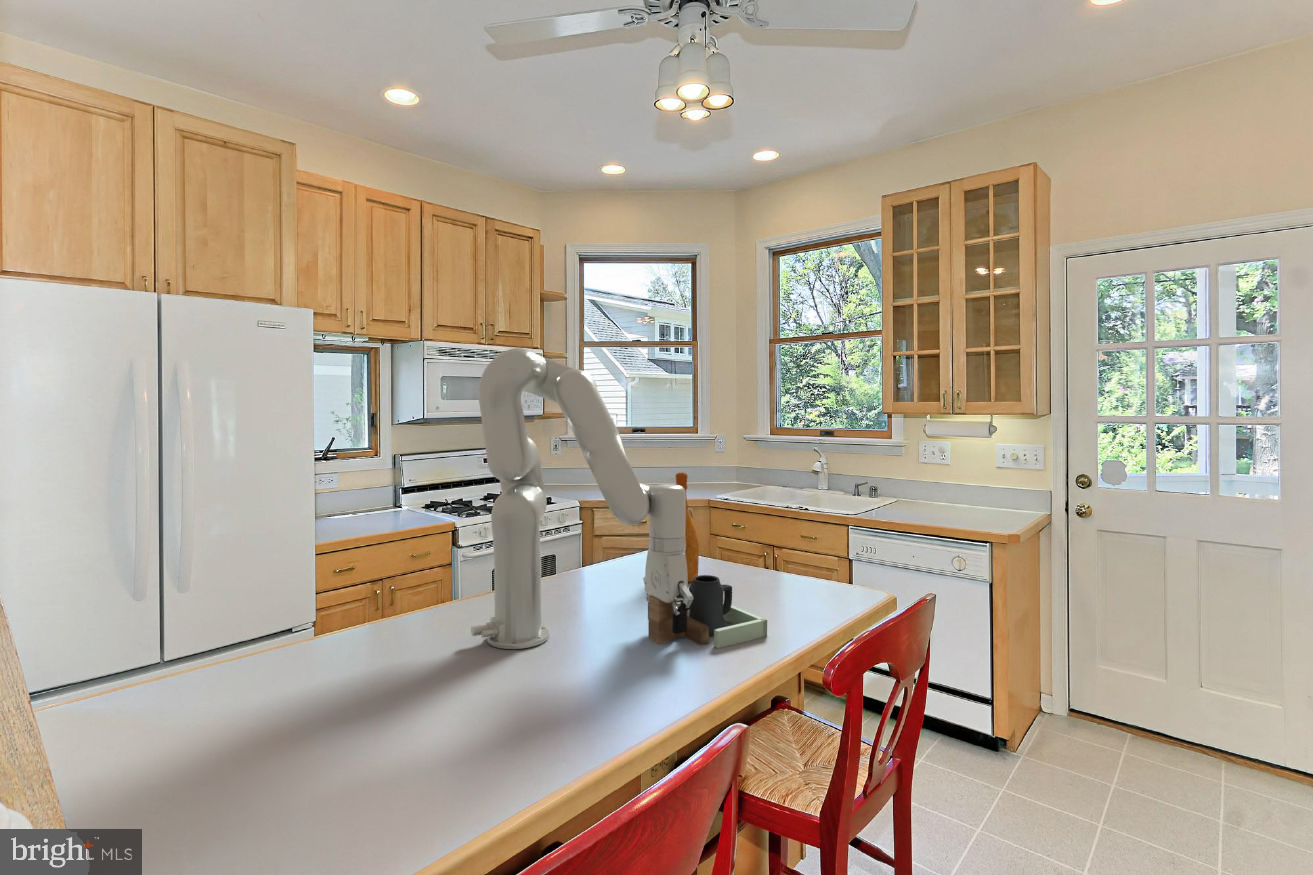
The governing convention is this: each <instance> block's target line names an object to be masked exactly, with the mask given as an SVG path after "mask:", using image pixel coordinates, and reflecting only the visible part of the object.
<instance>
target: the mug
mask: <svg viewBox="0 0 1313 875" xmlns="http://www.w3.org/2000/svg"><path fill="white" fill-rule="evenodd" d="M688 590H689V591H690V593H691V594H692V595H693V601H692V603H691V608H690V611H689V616H688V617H690V618H692V619H694V620H696V621H699V622H701V623H703V624H705V625H707V626H709V638H710V637H711V638H712V637H714V630H715V629H719V628H723V627H727V624H726V620H724V618H723V615H724V614H726V613H728V612H729V610H730V608H731V605H732V604H733V586H732V585H729V584H722V583H721V581H720V578H719V577H718V576H714V575H709V574H704V575H703V574H700V575H698V576H696V577H694V578H693V582H691V584H690V585H689V586H688ZM723 602H724V604H723Z"/></svg>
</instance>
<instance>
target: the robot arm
mask: <svg viewBox="0 0 1313 875" xmlns="http://www.w3.org/2000/svg"><path fill="white" fill-rule="evenodd" d="M478 385H479V387H478V403H479V410H480V417H481V423H482V424H481V425H482V434H483V440H484V446H485V453H486V462H487V467H488V470H489V471H490V473H491V474H492V476H494V478H496V480H499V483H500V490H501V493H500V495H498V497H497V498H496V500H495V501H494V503H493V505H492V510H491V515H490V519H491V520H490V521H491V523H490V524H491V531H492V544H493V566H494V567H493V570H494V571H493V572H494V573H493V576H494V577H493V578H494V579H493V580H494V582H493V583H494V584H493V586H494V616H491V617H490V618H489V620H490V621H488V622H485V624H482V625H480V624H479V625H474V626H471V627H470V633H471V636H472V637H476V636H480V637H481V638H486V641H487V642H486V643H488V644H489V645H490V646H491V647H494V648H498V649H504V650H521V649H522V650H523V649H527V648H533V647H536V646H539V645H542V644H543V643H545V642H546V641H548V639H549V637H550V632H549V631H550V630H549V629H548V628H547V627H545V626H543V625H542V552H541V551H542V548H541V547H542V546H541V544H542V542H541V531H540V524H541V523H540V521H541V519H542V518H543V516H544V515H545V514H546V513H545V512H546V510H547V505H548V503H547V502H548V501H547V494H546V493H547V492H546V487H545V480H544V473H543V466H542V461H541V455H540V452H539V449H538V446H537V445H536V443H535V442H534V440H532V438H531V437H529V436H528V434H527V430H526V429H527V428H526V423H525V420H526V419H525V413H524V409H523V405H522V394H523V392H527V393H530V394H531V395H534V396H537V397H540V398H542V399H545V400H547V401H551V402H553V403H556V404H557V405H558V406H559V409H560V410H561V413H562V414H563V416H564V419H565V420H566V421H567V423H568V425H569V428H570V430H571V432H572V433H573V436H574V438H575V440H576V442H577V444H578V446H579V448H580V450H581V453H582V454H583V456H584V460H585V461H586V464H587V465H588V467H589V469H590V471H591V473H592V476H593V478H594V480H595V482H596V484H597V487H598V489H599V491H600V493H601V494H602V497H603V498H604V501H605V502H606V505H607V506H608V509H609V510H610V512H611V514H612V516H613V517H614V518H615V520H617V521H618V522H620V523H621V524H623V525H626V526H634V525H638V524H640V523H641V522H643V521H644V520H645V519H646V517H648V519H649V522H648V524H649V525H648V528H649V529H648V530H649V532H648V536H649V537H648V539H649V540H648V541H649V542H648V547H649V548H648V549H647V554H646V561H645V572H644V575H645V576H644V577H643V579H642V580H643V584H644V591H645V593H646V601H647V619H648V618H649V596H650V595H651V596H653V597H655V598H657V599H659V600H661V601H662V602H665V603H671V604H672V607H673V610H674V612H675V614H673V633H674V634H677V633H682V632H686V631H687V613H688V612H689V609H690V608H691V603H692V601H693V595H692V594H691V593H690V591H689V583H688V575H687V563H686V556H685V553H684V552H685V516H686V497H687V492H686V493H685V489H684V488H683V487H682V486H680V485H676V484H674V483H671V484H670V483H664V484H663V483H662V484H656V485H655V484H647V483H640V482H639V480H638V479H637V477H636V474H635V472H634V471H633V468H632V466H631V464H630V461H629V459H628V457H627V454H626V452H625V448H624V444H623V440H622V436H621V434H620V432H619V430H618V427H617V426H616V424H615V422H614V420H613V418H612V416H611V414H610V411H609V410H608V409H607V408H608V407H607V406H606V405H605V402H604V400H603V398H602V396H601V394H600V391H599V390H598V388H597V383H596V381H595V379H594V377H593V376H592V375H591V374H590V373H588V372H586V371H585V370H583V369H578V368H574V367H571V366H568V365H565V364H563V363H561V362H560V363H559V362H557V361H554V360H553V359H550V358H547V357H546V356H543V355H540V354H538V353H535V352H534V351H532V350H529V349H527V348H521V347H515V348H509V349H507V350H505V351H503V352H501V353H500V354H498V355H497V356H495V357H494V358H493V359H492V360H491V361H490V362H489V363H488V364H487V366H486V367H485V368H484V370H483V373H482V374H481V377H480V380H479V384H478ZM679 602H680V603H681V605H680V606H679V608H678V605H677V603H679Z"/></svg>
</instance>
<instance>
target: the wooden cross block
mask: <svg viewBox="0 0 1313 875" xmlns="http://www.w3.org/2000/svg"><path fill="white" fill-rule="evenodd" d="M648 602H649V618H648V617H647V620H648V621H647V622H648V626H647V627H648V628H647V629H648V639H650V640H651V641H653V642H654V643H656V644H659V645H660V644H665V643H668V642H675V641H676V639H679V638H687V639H689V640H690V641H692V642H694V643H696V644H698V645H700V646H703V645H707V644H709V643H710V637H709V626H707V625H705V624H703V623H701V622H699V621H696V620H694V619H692V618H690V617H689V616H687V631H686V632H682V633H677V634H674V633H673V614H675V612H674V610H673V607H672V604H671V603H665V602H662V601H661V600H659V599H657V598H655V597H653V596H651V595H650V596H649V601H648Z"/></svg>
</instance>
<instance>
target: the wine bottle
mask: <svg viewBox="0 0 1313 875" xmlns="http://www.w3.org/2000/svg"><path fill="white" fill-rule="evenodd" d="M688 478H689V477H688V473H686V472H684V471H683V472H677V473H676V474H675V485H680V486H682V487H683V488H684V489H685V493H686V494H687V490H688ZM687 499H688V498H687V496H686V516H685V552H684V553H685V556H686V563H687V575H688V584H689V583H692V582H693V578H694V577H696V576H699V561H700V560H699V558H700V557H699V555H700V554H699V552H700V545H699V544H700V542H699V534H698V530H697V527H696V525H695V522H694V519H695V516H694V512H693V508H691V507H690V508H689V504H688V500H687Z"/></svg>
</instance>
